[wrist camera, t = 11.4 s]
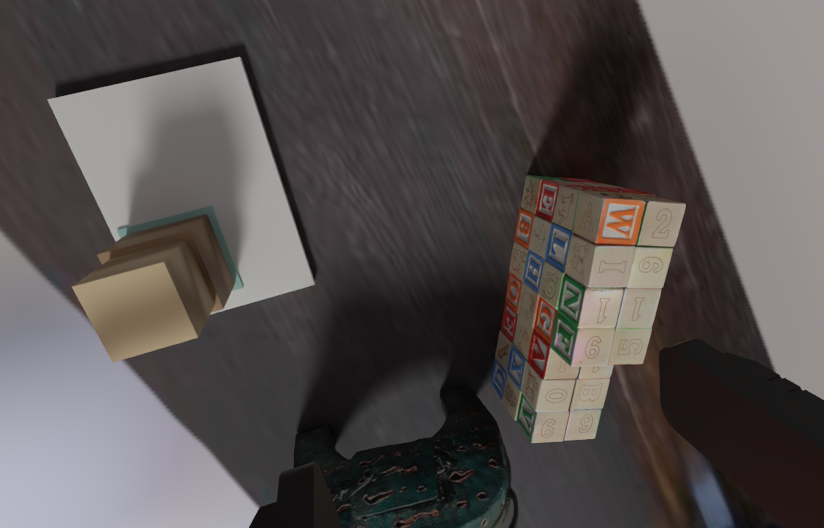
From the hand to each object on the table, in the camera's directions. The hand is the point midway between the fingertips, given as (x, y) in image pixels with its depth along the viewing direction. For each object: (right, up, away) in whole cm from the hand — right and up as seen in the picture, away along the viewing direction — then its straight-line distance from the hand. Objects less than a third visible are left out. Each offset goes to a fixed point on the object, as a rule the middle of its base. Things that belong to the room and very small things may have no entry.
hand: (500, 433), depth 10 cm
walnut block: (-20, +4, +26) cm, 33 cm away
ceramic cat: (-5, -12, +36) cm, 38 cm away
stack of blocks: (+10, +2, +34) cm, 36 cm away
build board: (-19, +9, +26) cm, 33 cm away
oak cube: (-19, +3, +21) cm, 28 cm away
